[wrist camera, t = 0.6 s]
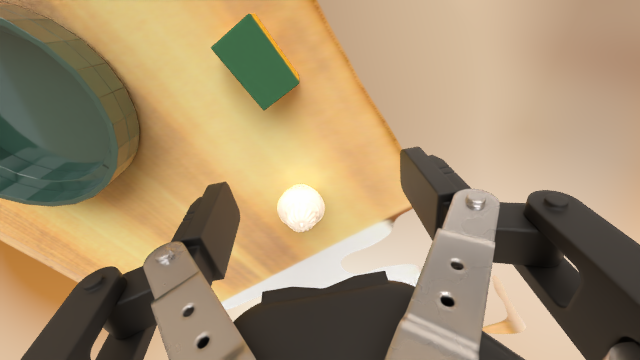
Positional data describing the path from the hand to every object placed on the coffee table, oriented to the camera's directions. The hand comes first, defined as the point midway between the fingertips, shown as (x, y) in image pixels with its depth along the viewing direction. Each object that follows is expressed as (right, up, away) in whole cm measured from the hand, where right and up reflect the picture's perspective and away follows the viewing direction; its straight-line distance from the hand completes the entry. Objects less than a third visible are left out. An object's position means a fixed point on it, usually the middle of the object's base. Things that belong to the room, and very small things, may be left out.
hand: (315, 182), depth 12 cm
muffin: (-2, -2, +25) cm, 25 cm away
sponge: (-6, +13, +16) cm, 21 cm away
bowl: (-30, +8, +16) cm, 35 cm away
